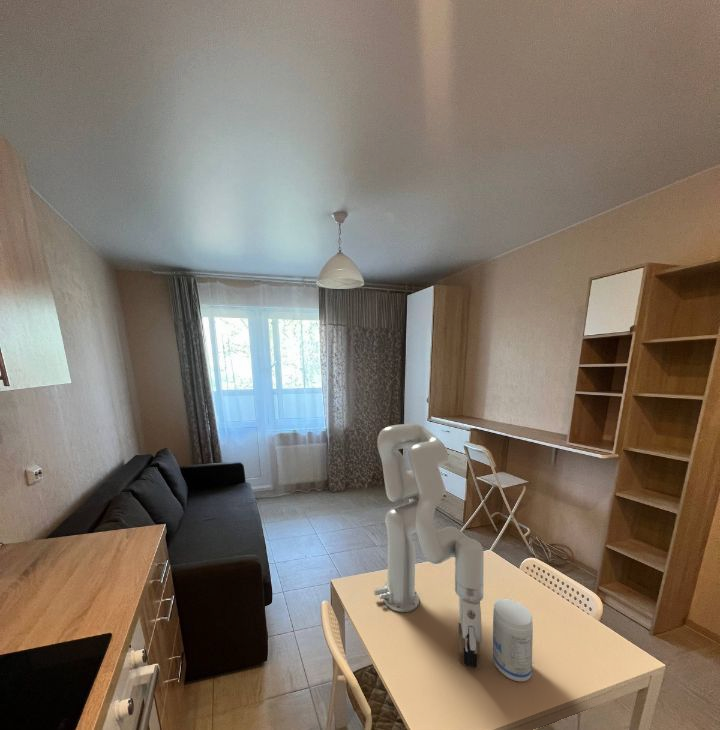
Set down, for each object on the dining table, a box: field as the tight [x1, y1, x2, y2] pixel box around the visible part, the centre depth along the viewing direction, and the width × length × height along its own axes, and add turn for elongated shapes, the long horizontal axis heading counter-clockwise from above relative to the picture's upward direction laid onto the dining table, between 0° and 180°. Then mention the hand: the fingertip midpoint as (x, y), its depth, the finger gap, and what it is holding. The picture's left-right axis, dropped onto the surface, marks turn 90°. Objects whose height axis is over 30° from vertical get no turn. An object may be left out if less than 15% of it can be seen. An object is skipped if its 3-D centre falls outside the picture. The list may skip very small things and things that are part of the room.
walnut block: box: [457, 622, 481, 669], centre depth 85 cm, size 5×5×7 cm
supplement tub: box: [492, 598, 534, 683], centre depth 82 cm, size 10×10×15 cm
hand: (468, 653), depth 85 cm, fingers open, 6 cm apart
